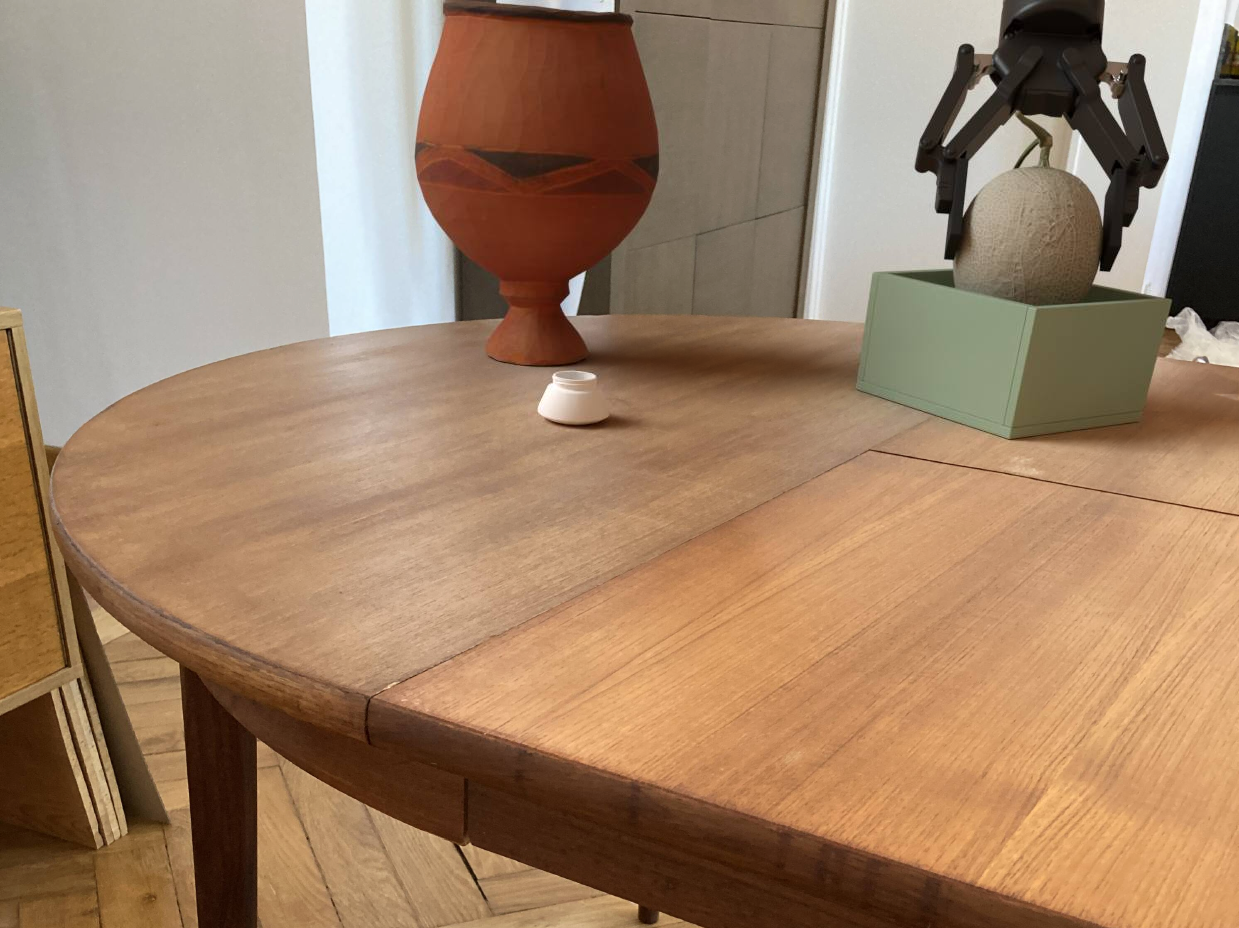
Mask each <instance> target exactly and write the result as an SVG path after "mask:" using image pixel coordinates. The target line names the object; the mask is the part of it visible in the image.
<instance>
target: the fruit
mask: <svg viewBox="0 0 1239 928" xmlns="http://www.w3.org/2000/svg"><path fill="white" fill-rule="evenodd" d="M1014 116H1015V117H1016V119H1017V120H1018V121H1019V122H1020V123H1022V125H1024V126H1025V127H1027V128H1028V129H1029V130H1030V131H1031V132H1032V133H1033V134H1034V136H1035V137H1036V138H1035V139H1034V140H1033V141H1032V142H1031V143H1030V144H1029V145H1028V146H1027V147H1026V148H1025V149H1024V151H1023V152H1022V153H1021V155H1020V156H1019V157H1018V159H1017V161H1016V163H1015V164H1014V166H1013V167H1012V169H1010V170H1007V171H1005V172H1002V173H1000V174H999V175H997V176H995V177H994V178H992V179H991V180H989V181H988V182H987V183H986V184H984V186H983V187H982V188H981V189H980V190H979V191H978V192H977V194H976V195H975V196H974V197H973V199H972V200H971V201H970V203H969V204H968V206H967V208H966V210H965V211H964V213H963V220H962V229H961V236H960V240H959V244H958V248H957V251H956V255H955V259H954V260H952V269H953V275H954V283H955V288H956V289H961V290H965V291H970V292H974V293H979V294H983V295H988V296H992V297H997V298H1001V299H1006V300H1010V301H1015V302H1019V303H1024V304H1028V305H1033V306H1049V305H1064V304H1079V303H1082V302H1083V300H1084V299H1085V297H1086V295H1087V294H1088V292H1089V290H1090V288H1091V286H1092V284H1094V282H1095V279H1096V276H1097V274H1098V272H1099V268H1100V259H1101V254H1102V245H1103V218H1102V215H1101V211H1100V208H1099V205H1098V202H1097V200H1096V197H1095V195H1094V194H1093V192H1092V190H1091V189H1090V188H1089V187H1088V185H1087V184H1086V183H1084V181H1083V180H1082V179H1081V178H1079V176H1077V175H1075V174H1073V173H1071V172H1069V171H1066V170H1064V169H1059V168H1055V167H1053V166H1050V154H1051V149H1052V147H1053V146H1054V140H1053V135H1052V134H1051V133H1050V132H1048V131H1047V130H1046V128H1044V127H1043V126H1041V125H1039V124H1038V123H1036V121H1033V120H1032V119H1030V118H1028V117H1027V116H1025V115H1023V114H1021V113H1020V112H1019V111H1016V112H1015V113H1014ZM1037 146H1038V147H1039V148H1040V151H1039V152H1040V153H1039V160H1038V163H1037V165H1031V166H1025V167H1022V164H1023V163H1024V161H1025V159H1026V158H1027V157H1028V156H1029V155H1030V154H1031V153H1032V152H1033V150H1034V149H1035V148H1036V147H1037Z"/></svg>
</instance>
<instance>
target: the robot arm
mask: <svg viewBox="0 0 1239 928" xmlns="http://www.w3.org/2000/svg"><path fill="white" fill-rule="evenodd" d="M1105 7H1106V0H1002V8H1001V13H1000V14H1001V15H1000V23H999V35H998V43H997V47H996V49H995V50H994V51H993V53H975V47H974V45H973V44H971V43H967V42H966V43H963V44H961V45H959V47H958V50H957V54H956V58H955V63H954V68H953V71H952V77H951V79H950V80H949V83H948V85H947V87H946V89H945V90H944V92H943V94H942V96H941V98H940V100H939V101H938V104H937V106H936V107H935V110H934V111H933V113H932V115H931V117H930V119H929V121H928V123H927V125H926V127H925V128H924V131H923V133H922V135H921V137H920V138H919V142H918V146H917V150H916V156H915V161H914V170H915V171H916V172H917V173H919V174H925V173H927V172H930V173H932V174H934V175H935V177H936V179H935V185H936V192H935V197H934V198H935V199H934V211H935V213H936V214H939V215H940V214H941V215H948V218H947V227H946V236H945V245H944V246H945V247H944V254H943V260H947V261H953V260H954V259H955V255H956V251H957V248H958V244H959V240H960V236H961V229H962V220H963V216H964V208H965V200H966V191H967V180H968V173H969V172H968V171H969V162H970V161H971V160H972V159H973V157H974V156H975V155H976V154H977V153H978V152H979V150H980V149H981V148H982V147H983V146H984V145H985V144H986V143H987V142H988V141H989V139H990V138H991V137H992V136H993V135H994V134H995V132H996V131H997V130H998V129H999V128H1000V127H1001V126H1003V127H1004V126H1005V125H1006V124H1007V123H1008V121H1010V119H1011V118H1012V117H1013V116H1015V112H1017V111H1019V112H1020V113H1021V114H1023V115H1024V116H1025V117H1027V116H1028V117H1031V116H1037V115H1042V116H1045V117H1049V118H1058V119H1059V118H1060V119H1061V118H1064V119H1065V121H1066V122H1067V124H1068V126H1069V127H1070V128H1071V130H1072V131H1076V130H1077V131H1078V133H1079V135H1080V136H1081V138H1082V139H1083V141H1084V142H1085V144H1086V145H1087V147H1088V148H1089V150H1090V152H1091V153H1092V156H1094V158H1095V160H1096V161H1097V162H1098V164H1099V165H1100V167H1101V168H1102V170H1103V172H1104V173H1105V175H1106V177H1107V178H1108V180H1109V181H1110V182H1109V184H1108V187H1107V190H1106V191H1105V195H1104V203H1103V214H1102V215H1103V216H1102V226H1103V245H1102V254H1101V259H1100V264H1099V268H1098V272H1105V273H1110V272H1111V270H1112V268H1113V267H1114V264H1115V261H1116V259H1117V257H1118V255H1119V253H1120V251H1121V248H1122V245H1123V243H1122V242H1123V229H1124V228H1130V227H1131V225H1132V223H1133V221H1134V218H1135V216H1136V214H1137V212H1138V209H1139V203H1140V190H1141V188H1142V187H1143V188H1145V189H1147V190H1153V189H1156V187H1157V186H1158V185H1159V182H1160V180H1161V178H1162V176H1163V173H1164V171H1165V169H1166V167H1167V166H1168V165H1167V164H1168V162H1169V160H1170V155H1169V152H1168V148H1167V146H1166V142H1165V139H1164V136H1163V133H1162V131H1161V127H1160V124H1159V121H1158V119H1157V115H1156V112H1155V109H1154V106H1153V103H1152V99H1151V97H1150V94H1149V90H1148V88H1147V84H1146V81H1145V73H1146V64H1147V58H1146V56H1145V55H1144V54H1142V53H1139V52H1138V53H1133V54H1131V55H1130V57H1129V59H1128V62H1123V61H1122V62H1121V61H1109V60H1108V58H1107V56H1106V54H1105V52H1104V50H1103V36H1104V35H1103V34H1104V21H1105V9H1106V8H1105ZM985 76H989V79H990V81H991V83H993V85H994V86H995V87H996V89H995V90H994V92H993V93H992V94H990V96H989V97H988V98H987V100H986V101H985V102H984V103H983V104H982V105H981V106H980V107H979V108H978V110H977V111H976V112H975V113H974V114H973V115H972V116H971V117H970V118H969V119H968V121H967V122H966V123H965V124H964V125H963V126H962V127H961V128H960V130H959V131H958V132H957V133H956V134H955V135H954V136H953V137H952V138H951V140H950V141H949V142H948V143H947V144H946V145H945V146H944V143H945V141H946V139H947V137H948V135H949V133H950V131H951V129H952V127H953V125H954V124H955V121H956V120H957V117H958V115H959V114H960V111H961V110H962V108H963V106H964V104H965V101H966V99H967V95H968V92H969V91H973V90H974V89H975V86H977V85H979V84H980V82H981V80H982V78H983V77H985ZM1101 83H1105V84H1107V85H1108V87H1109V90H1110V92H1111V99H1113V100H1117V110H1118V115H1119V117H1120V120H1121V123H1122V127H1123V129H1122V127H1121V126H1120V123H1118V121H1117V120H1116V117H1114V115H1113V114H1112V112H1111V111H1110V109H1109V107H1108V106H1107V104H1106V103H1105V101H1104V99H1103V98H1102V93H1101V92H1102V90H1101V87H1100V84H1101Z"/></svg>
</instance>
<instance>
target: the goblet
mask: <svg viewBox="0 0 1239 928" xmlns="http://www.w3.org/2000/svg"><path fill="white" fill-rule="evenodd" d="M442 14H443V15H444V17H445V19H444V22H443V26H442V30H441V35H440V39H439V42H438V43H439V44H438V47H437V50H436V54H435V56H434V59H433V62H432V64H431V68H430V71H429V73H428V78H427V80H426V84H425V87H424V92H423V93H422V98H421V104H420V109H419V115H418V119H417V126H416V134H415V135H416V136H415V143H414V144H415V145H414V164H415V172H416V179H417V183H418V186H419V188H420V191H421V194H422V197H423V200H424V203H425V204H426V206H427V208H428V210H429V212H430V214H431V216H432V217H433V219H434V220H435V222H436V223H437V224H438V226H439V227H440V228H441V230H442V231H443V232H444V234H445V235H446V236H447V237H448V239H449V240H450V241H451V242H452V243H453V244H454V245H455V247H457V249H459V251H460V252H461V253H462V254H464V256H465V257H467V258H468V259H469V260H471V261H472V262H474V263H475V264H476V265H478V266H480V267H481V268H482V269H484V270H485V271H487V272H488V273H490V274H492V275H493V276H495V277H496V278H498V280H499V292H498V293H499V295H500V296H501V297H502V298H503V299H504V300H505V301H506V303H507V304H508V306H509V308H508V311H507V313H506V315H505V317H504V318H503V319H502V321H501V322H500V323H499V324H498V326H497V327H496V328H495V329H494V331H493V332H492V334H491V335H490V337H489V338H488V340H487V342H486V344H485V349H484V350H485V351H484V352H485V354H486V355H487V356H488V357H490V358H492V359H494V360H497V361H500V362H504V363H509V364H514V365H520V366H540V367H544V366H545V367H546V366H562V365H563V366H564V365H569V364H575V363H578V362H580V361H582V360H585V359H586V358H588V356H589V350H588V347H587V344H586V342H585V340H584V339H583V337H582V336H581V334H580V333H579V331H578V330H577V328H576V327H575V326H574V325H573V323H572V322H571V321H570V320H569V319H568V317H567V316H566V314H565V312H564V310H563V308H562V306H561V304H562V303H563V302H564V301H565V300H566V299H567V298H568V297H569V296H570V295H571V292H570V281H571V280H573V279H574V278H576V277H578V276H579V275H581V274H583V273H585V272H586V271H589V270H590V269H592V268H593V267H595V266H596V265H597V264H599V263H600V262H602V260H604V259H605V258H606V257H607V256H608V255H610V254H611V253H613V251H615V249H617V248H618V246H619V245H620V244H621V243H622V242H623V241H624V240H625V239H626V238H627V237H628V236H629V235H630V233H631V232H632V231H633V230H634V229H635V227H636V226H637V225H638V223H639V222H640V220H641V219H642V218H643V216H644V215H645V213H646V211H647V209H648V207H649V205H650V203H651V200H652V198H653V194H654V192H655V189H656V187H657V184H658V179H659V173H660V144H659V130H658V126H657V119H656V115H655V110H654V106H653V101H652V97H651V92H650V89H649V86H648V81H647V78H646V76H645V71H644V68H643V65H642V61H641V58H640V55H639V51H638V47H637V44H636V40H635V37H634V34H633V30H632V27H633V25H634V21H635V20H634V19H633V17H632V15H631V14H628V13H623V12H621V11H619V12H618V11H617V12H615V11H599V12H598V11H593V10H571V9H561V8H553V7H545V6H540V5H539V6H538V5H526V4H514V3H500V2H494V1H493V2H492V1H483V0H445V1H444V2H443V3H442Z"/></svg>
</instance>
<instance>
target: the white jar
mask: <svg viewBox="0 0 1239 928" xmlns="http://www.w3.org/2000/svg"><path fill="white" fill-rule="evenodd" d="M551 377H552V382H551V383H549V384H548V385H547V386H546V389H545V391H544V393H543V395H542V397H541V399H540V402H539V404H538V406H537V413H538V414H539V415H541V416H542V417H543V418H545V419H546V420H549V421H552V422H555V423H557V424H563V425H573V426H581V425H583V426H585V425H589V424H596V423H599V422H600V421H603V420H605V419H607V418H609V416H610V405H609V403H608V401H607V398H606V396H605V393H604V391H603V388H602V387H601V386H599V385H598V384H597V382H598V379H597V375H596V374H594V373H591V372H589V371H588V372H587V371H581V370H561V371H557V372H554V373H553V375H552V376H551Z"/></svg>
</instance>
